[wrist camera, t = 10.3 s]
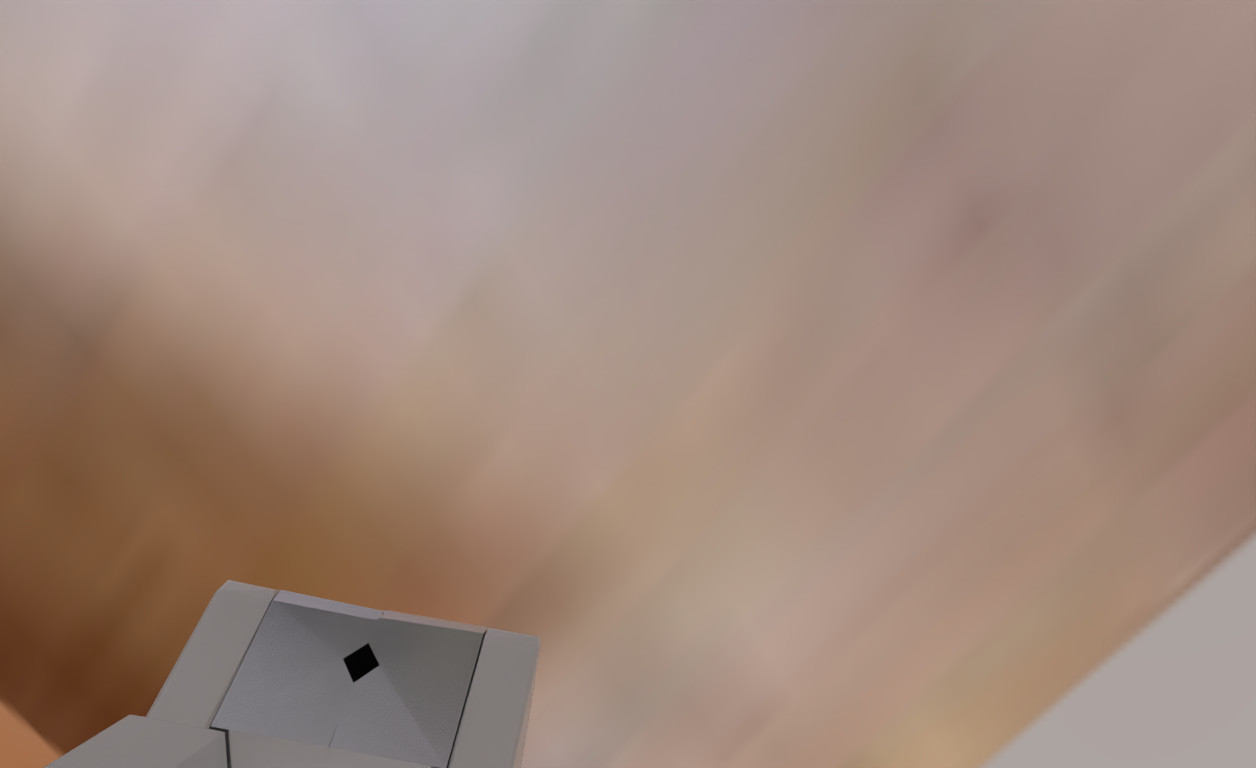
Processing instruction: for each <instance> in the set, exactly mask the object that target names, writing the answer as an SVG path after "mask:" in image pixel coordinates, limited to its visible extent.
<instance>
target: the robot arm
mask: <svg viewBox="0 0 1256 768" xmlns="http://www.w3.org/2000/svg"><path fill="white" fill-rule="evenodd" d="M540 645H541V638H540V637H537V636H531V635H525V634H520V633H514V632H508V631H503V630H497V629H491V628H488V627H483V626H477V625H471V624H465V623H459V622H453V621H447V620H441V619H435V618H430V617H424V616H418V615H412V614H406V613H400V612H394V611H388V610H385V611H380V610H376V609H371V608H366V607H361V606H356V605H351V604H347V603H342V602H337V601H332V600H327V599H323V598H318V597H313V596H308V595H303V594H298V593H294V592H289V591H284V590H276V589H271V588H266V587H261V586H256V585H251V584H246V583H241V582H236V581H231V580H228V581H227V582H226V583H225V584H224V585H222V586H221V587H220V588H219V589H218V590H217V591H216V592H215V594H214V595H213V597H212V599H211V601H210V603H209V604H208V606H207V608H206V610H205V612H204V613H203V615H202V617H201V619H200V621H199V622H198V624H197V626H196V628H195V630H194V631H193V633H192V635H191V637H190V639H189V640H188V642H187V644H186V646H185V648H184V649H183V651H182V653H181V655H180V657H179V658H178V660H177V662H176V664H175V665H174V667H173V669H172V671H171V673H170V674H169V676H168V678H167V680H166V682H165V683H164V685H163V687H162V689H161V691H160V692H159V694H158V696H157V698H156V700H155V701H154V703H153V705H152V707H151V709H150V710H149V712H148V714H147V716H146V717H142V716H136V715H128V716H126V717H125V718H123V719H122V720H120V721H118V722H117V723H115V724H114V725H112V726H110V727H109V728H107V729H105V730H104V731H102V732H101V733H99V734H97V735H96V736H94V737H92V738H91V739H89V740H88V741H86V742H84V743H83V744H81V745H79V746H78V747H76V748H75V749H73V750H71V751H70V752H68V753H66V754H65V755H63V756H62V757H60V758H58V759H57V760H55V761H54V762H52V763H50V764H49V765H47V766H45V767H44V768H521V762H522V756H523V750H524V744H525V738H526V732H527V726H528V720H529V714H530V708H531V702H532V696H533V690H534V683H535V677H536V671H537V665H538V658H539V652H540Z"/></svg>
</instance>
